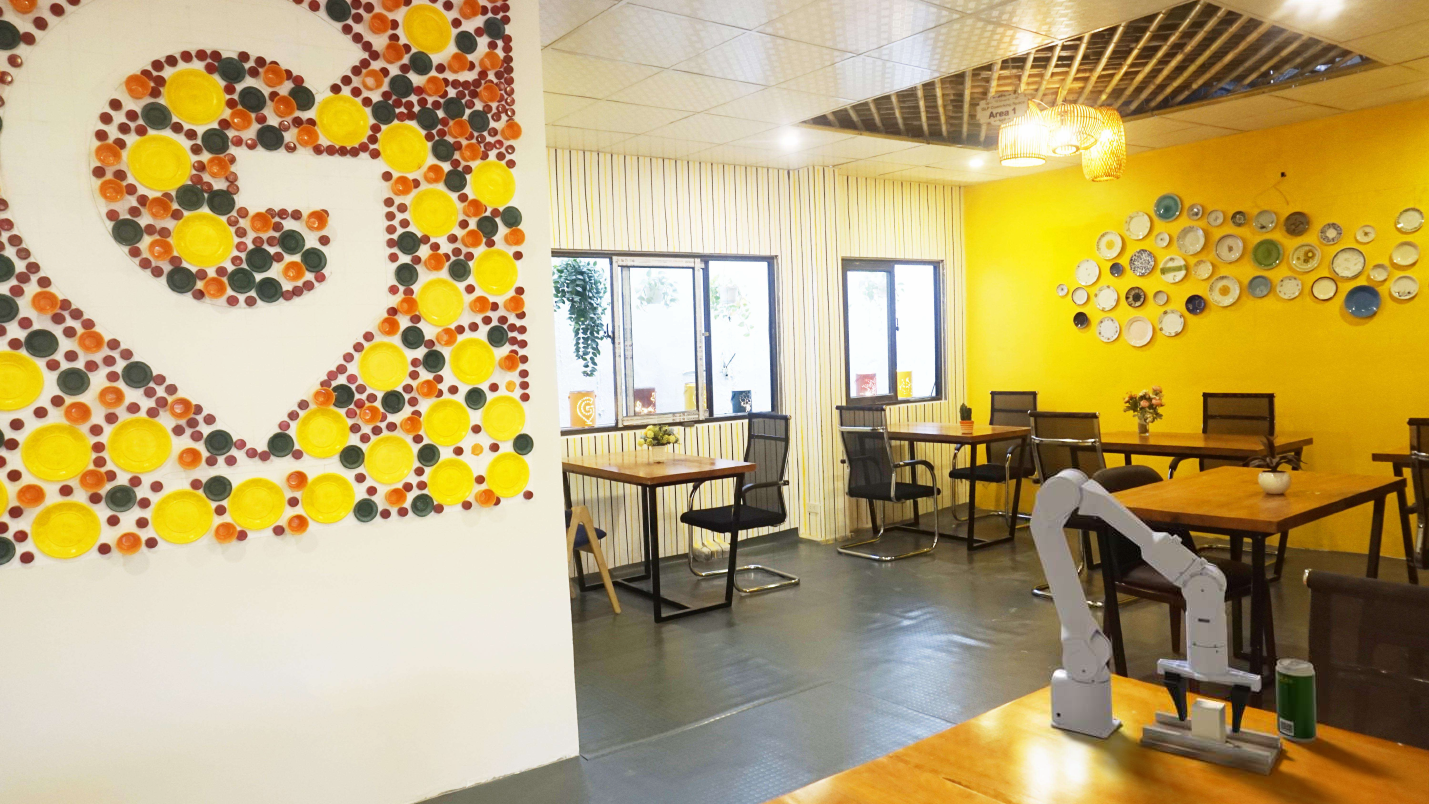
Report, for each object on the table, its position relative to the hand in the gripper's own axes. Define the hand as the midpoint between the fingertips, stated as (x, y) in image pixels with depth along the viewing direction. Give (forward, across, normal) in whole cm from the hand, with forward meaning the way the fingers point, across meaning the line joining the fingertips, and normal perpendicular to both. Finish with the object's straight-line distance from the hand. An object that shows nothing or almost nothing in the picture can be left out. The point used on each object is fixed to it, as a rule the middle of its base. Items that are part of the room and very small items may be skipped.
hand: (1209, 724), depth 143 cm
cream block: (+3, 0, 0) cm, 3 cm away
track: (+4, 0, 0) cm, 4 cm away
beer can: (+4, +10, +12) cm, 16 cm away
